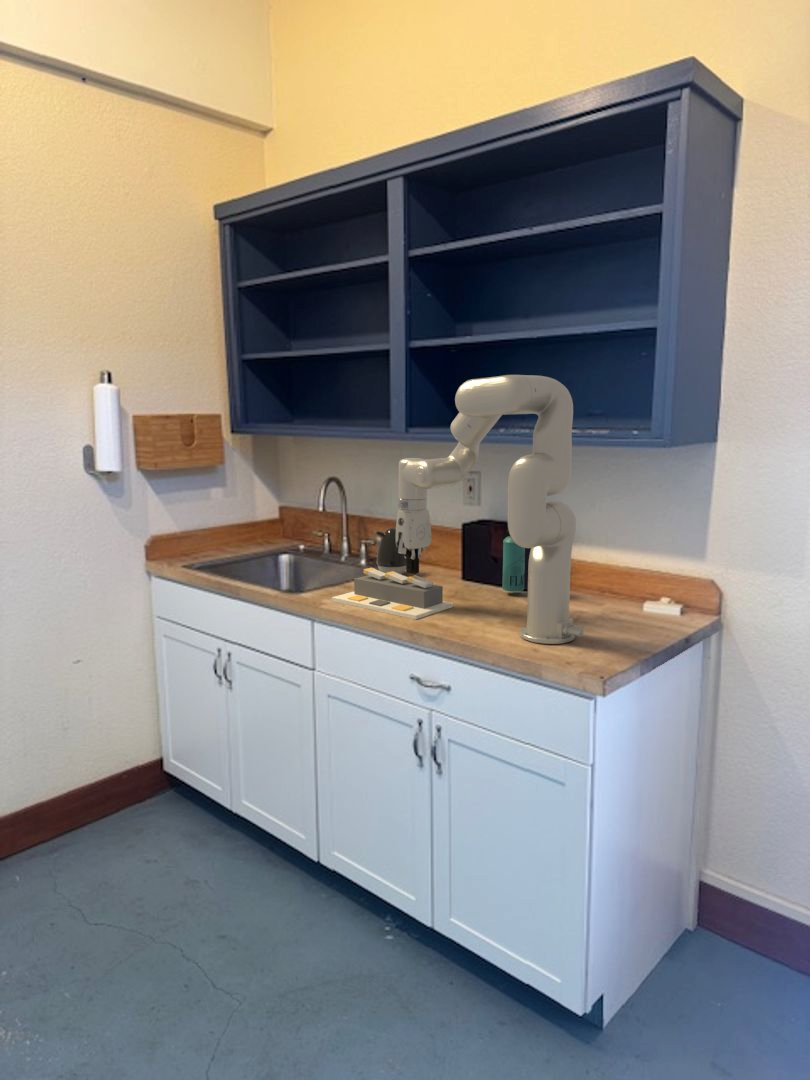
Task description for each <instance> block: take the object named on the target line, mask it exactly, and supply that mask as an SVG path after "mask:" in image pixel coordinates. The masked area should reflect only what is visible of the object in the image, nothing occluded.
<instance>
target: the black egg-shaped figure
mask: <svg viewBox="0 0 810 1080" xmlns="http://www.w3.org/2000/svg"><path fill="white" fill-rule="evenodd" d="M375 534H376V535H377V536H381V538H380V542H379V543H378V544H379V545H378V548H377V555H376V565H377V567H378V570H379V571H381V572H384V573H388V572H392V571H394V572H396V573H398V574H401V575H403V574H404V573H405V572H406V558H405V556H404V554H400V553H398V547H397V546H396V527H390V528H387V529H385V531H384V532H382V531H378V530H376V533H375Z"/></svg>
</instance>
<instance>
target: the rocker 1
mask: <svg viewBox="0 0 810 1080" xmlns="http://www.w3.org/2000/svg"><path fill="white" fill-rule="evenodd" d="M362 573H363V574H364V575H370V576H372V577H375V578H377V579H380V580H381V579H385V578H386V577H385V573H384V572H381V571H380V570H379V569H376V568H374V567H369V568H368V567H367V568H363V572H362Z"/></svg>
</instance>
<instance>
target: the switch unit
mask: <svg viewBox="0 0 810 1080" xmlns="http://www.w3.org/2000/svg"><path fill="white" fill-rule="evenodd" d="M353 583H354V589H353V590H354V591H351V592H350V591H349V592H347V593H343V594H339V595H335V596H332V597H331V602H336V603H339V604H344V605H348V606H349V605H350V606H354V607H358V608H363V609H366V610H372V611H375V612H380V613H385V614H390V615H392V616H393V615H394V616H398V617H403V618H407V619H412V620H418V619H421V618H424V617H427V616H429V615H430V616H431V615H433V614H436V613H439V612H442V611H445V610H448V609H451V608H453V607H454V602H448V601H445V600H443V597H444V596H443V595H444V594H443V591H444V590H443V586H441V585H437V584H433V586H431V587H428V588H424V587H421V586H419V585H416V584H414V583H411V582H407V583H403V584H401V583H399V582H396V581H394V580H392V579H389V578H385V579H381V580H380V579H377V578H375V577H372V576H370V575H368V574H366V575H364V576H360V577H356V578H355V577H354V581H353Z"/></svg>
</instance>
